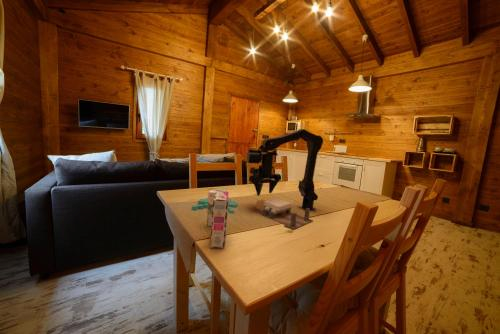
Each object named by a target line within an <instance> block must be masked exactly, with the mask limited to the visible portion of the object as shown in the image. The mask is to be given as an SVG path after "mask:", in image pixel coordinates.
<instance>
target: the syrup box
mask: <svg viewBox="0 0 500 334" xmlns="http://www.w3.org/2000/svg"><path fill="white" fill-rule="evenodd" d="M216 191H218V192H228V191H227V190H224V189H220V188H212V189H210V190H209V191H208V193H207V197H208V209H207V212H206V213H207V216H206V226H207V227H210V228H212V214H213V199H214V196H215V193H216Z"/></svg>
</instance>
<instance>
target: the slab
mask: <svg viewBox="0 0 500 334" xmlns="http://www.w3.org/2000/svg"><path fill="white" fill-rule="evenodd" d="M292 204H293V203H292V202H289V201H286V200H284V199H280V198H276V197H275V198H273V199H269V200H265V201H264V206H266V207H269V208H272V209H274V210H277V211H280V210H284V209H287V208H292Z"/></svg>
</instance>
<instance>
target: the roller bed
mask: <svg viewBox="0 0 500 334" xmlns="http://www.w3.org/2000/svg"><path fill="white" fill-rule="evenodd" d="M291 208H292V207H290V208H287V209H284V210H280V211H277V210H274V209H272V208H269V207H265V208H264V210H263V211H262V210H260V209H257V208H256V207H252V208H249V209H247V210H248V211H250V212H251V213H254V214H257V215H259V216H261V217H264V218H266V219H269V220H271V221H274V222H277V223H279V224H281V225H282V226H284V227H285V228H287V229H290V230H292V231H295V230H297V229H299V228H302V227H304V226H306V225H308V224H310V223H313V222H314V220H313V219H310V213H311V211H310V208H307V209H304V216H303V215H299V214H297V212H291Z"/></svg>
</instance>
